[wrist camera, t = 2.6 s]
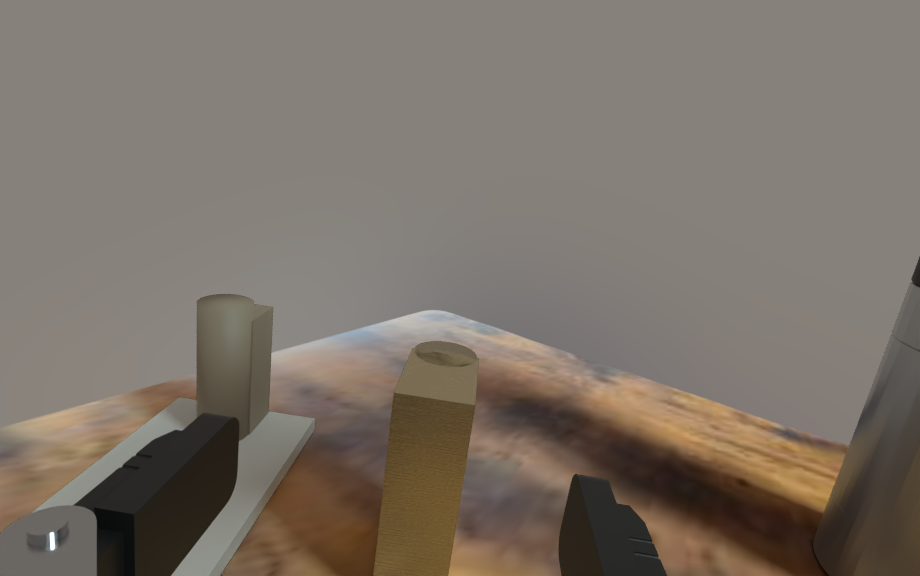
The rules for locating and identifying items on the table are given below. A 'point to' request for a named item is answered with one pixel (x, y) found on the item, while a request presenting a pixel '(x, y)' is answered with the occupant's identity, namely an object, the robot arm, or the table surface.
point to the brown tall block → (426, 460)
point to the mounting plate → (247, 490)
